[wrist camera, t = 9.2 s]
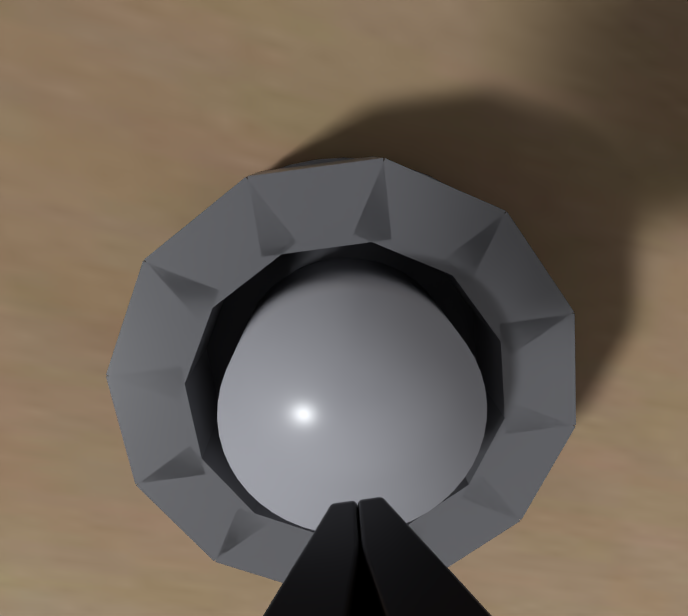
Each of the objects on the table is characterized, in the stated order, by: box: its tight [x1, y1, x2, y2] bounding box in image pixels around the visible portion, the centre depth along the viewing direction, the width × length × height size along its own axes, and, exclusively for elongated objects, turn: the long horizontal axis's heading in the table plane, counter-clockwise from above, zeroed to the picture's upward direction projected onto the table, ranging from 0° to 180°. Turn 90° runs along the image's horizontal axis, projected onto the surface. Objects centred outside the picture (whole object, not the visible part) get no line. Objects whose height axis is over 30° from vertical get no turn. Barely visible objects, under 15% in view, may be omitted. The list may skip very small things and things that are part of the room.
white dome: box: [217, 258, 487, 530], centre depth 14 cm, size 6×6×4 cm
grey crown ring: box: [106, 156, 576, 583], centre depth 15 cm, size 11×11×3 cm
